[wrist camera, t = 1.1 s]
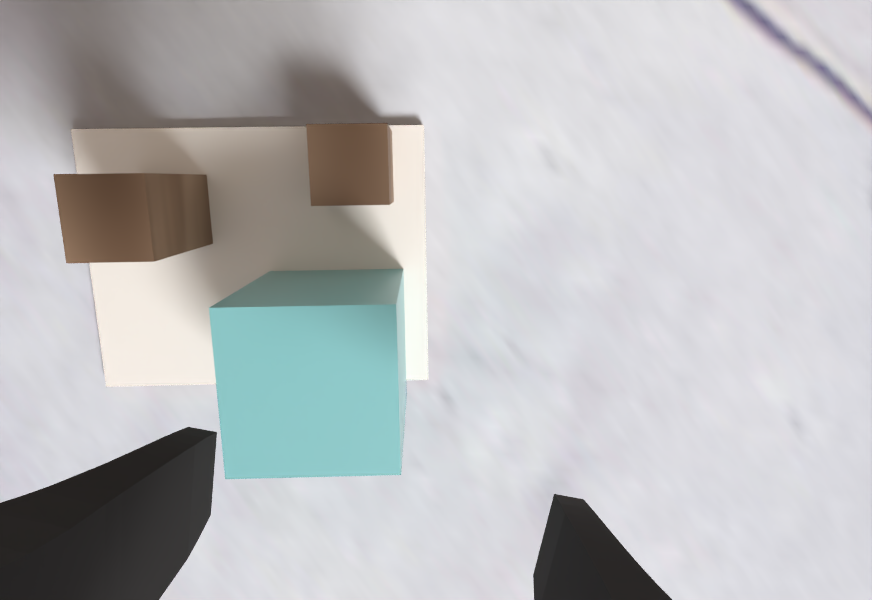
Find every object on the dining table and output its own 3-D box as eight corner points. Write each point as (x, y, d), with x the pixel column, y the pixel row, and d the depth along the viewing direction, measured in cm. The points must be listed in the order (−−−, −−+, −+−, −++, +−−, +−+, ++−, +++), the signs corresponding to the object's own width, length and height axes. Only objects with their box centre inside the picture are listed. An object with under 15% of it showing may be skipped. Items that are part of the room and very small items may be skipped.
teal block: (279, 397, 24) (225, 479, 17) (269, 271, 22) (208, 307, 16) (406, 394, 24) (401, 474, 17) (403, 268, 23) (395, 304, 16)
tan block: (325, 202, 22) (310, 206, 19) (322, 131, 21) (306, 124, 19) (393, 201, 22) (389, 204, 19) (391, 130, 22) (387, 123, 19)
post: (144, 244, 22) (66, 263, 17) (136, 175, 22) (53, 174, 17) (213, 243, 22) (154, 261, 17) (206, 174, 22) (143, 172, 17)
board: (112, 382, 24) (106, 386, 23) (78, 130, 22) (70, 129, 21) (428, 375, 24) (428, 379, 24) (423, 126, 22) (424, 124, 22)
